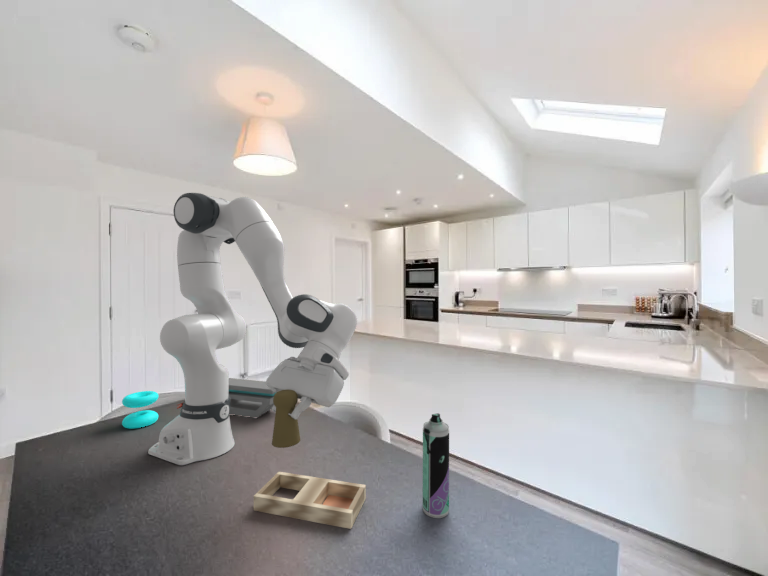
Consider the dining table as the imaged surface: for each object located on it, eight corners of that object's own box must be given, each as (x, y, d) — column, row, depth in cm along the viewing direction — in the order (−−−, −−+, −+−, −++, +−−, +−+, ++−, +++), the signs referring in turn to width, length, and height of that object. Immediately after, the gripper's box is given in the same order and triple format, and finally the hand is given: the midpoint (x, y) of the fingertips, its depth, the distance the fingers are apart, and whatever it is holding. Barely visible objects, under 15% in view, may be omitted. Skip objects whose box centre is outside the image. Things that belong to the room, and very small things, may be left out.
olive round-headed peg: (292, 448, 69) (291, 395, 69) (266, 446, 70) (265, 394, 70) (305, 436, 75) (304, 387, 75) (280, 434, 76) (279, 386, 76)
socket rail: (253, 510, 69) (253, 496, 69) (278, 484, 78) (278, 471, 78) (351, 529, 64) (351, 513, 64) (365, 498, 73) (365, 484, 73)
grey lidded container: (285, 412, 123) (285, 383, 123) (272, 420, 115) (272, 389, 115) (229, 405, 130) (229, 377, 130) (213, 413, 123) (214, 383, 122)
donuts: (159, 388, 119) (157, 396, 111) (159, 416, 119) (157, 426, 111) (124, 392, 114) (119, 401, 106) (124, 421, 114) (119, 432, 106)
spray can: (443, 522, 66) (443, 421, 66) (418, 512, 69) (418, 415, 69) (452, 506, 71) (453, 412, 71) (429, 497, 73) (429, 407, 73)
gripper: (280, 348, 84) (245, 397, 76) (342, 359, 73) (308, 418, 65) (294, 363, 88) (262, 411, 80) (354, 375, 76) (324, 433, 68)
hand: (283, 414), depth 72 cm, fingers closed on olive round-headed peg, 4 cm apart
